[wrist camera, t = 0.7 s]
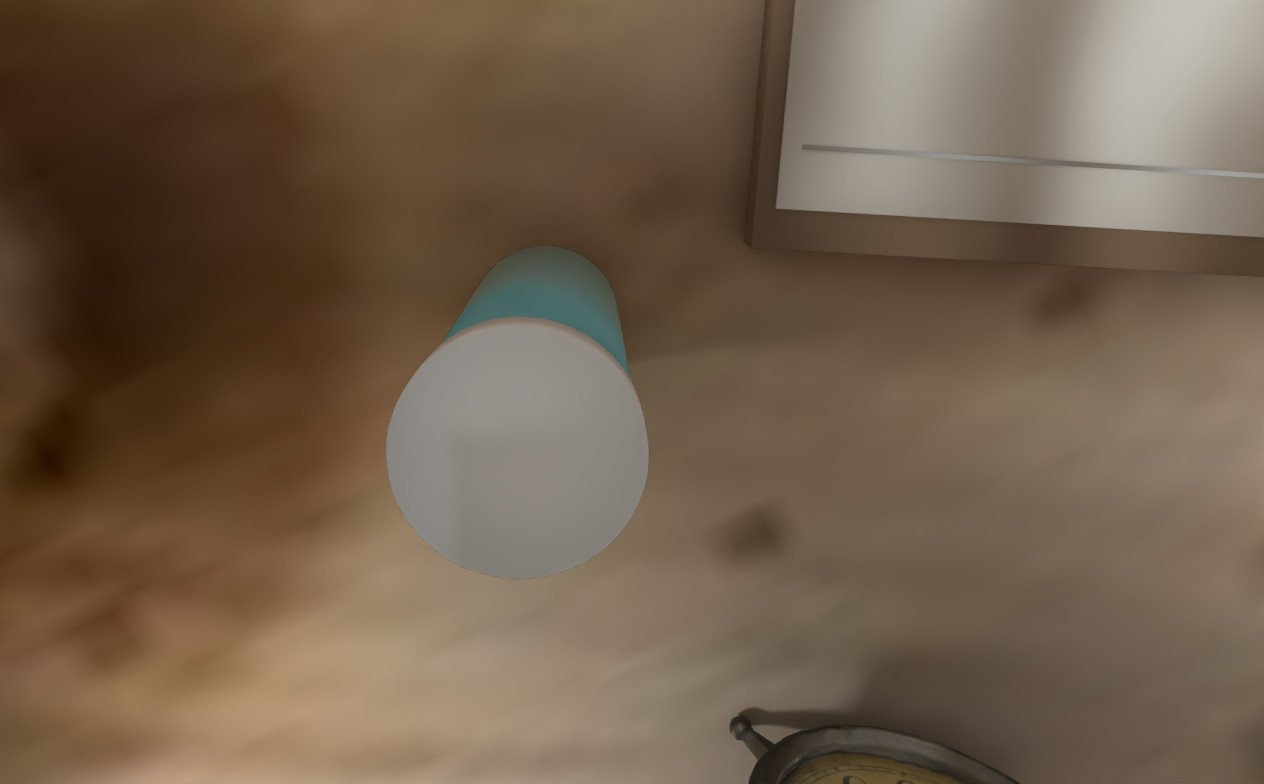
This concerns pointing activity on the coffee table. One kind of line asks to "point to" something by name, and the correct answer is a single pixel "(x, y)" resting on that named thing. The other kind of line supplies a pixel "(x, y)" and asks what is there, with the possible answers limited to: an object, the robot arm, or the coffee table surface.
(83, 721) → the coffee table surface
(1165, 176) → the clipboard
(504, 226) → the coffee table surface
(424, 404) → the cylinder
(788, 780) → the alarm clock
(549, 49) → the coffee table surface
